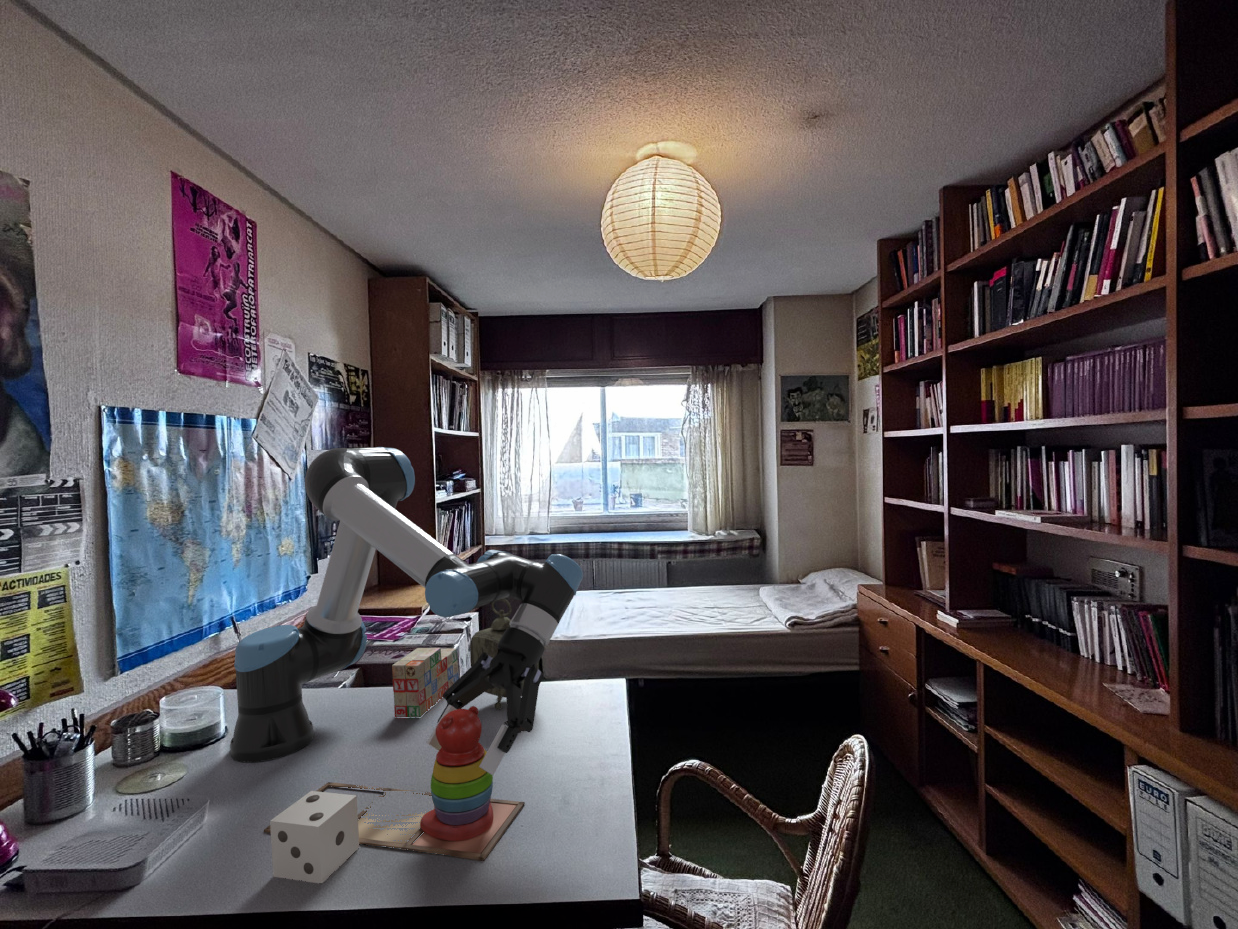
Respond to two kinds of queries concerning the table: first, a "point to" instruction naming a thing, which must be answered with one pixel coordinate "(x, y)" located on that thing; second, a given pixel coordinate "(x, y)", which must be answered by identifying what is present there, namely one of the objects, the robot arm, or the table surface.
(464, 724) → the stacking bear
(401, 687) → the stack of blocks
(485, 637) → the tabletop clock
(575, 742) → the table surface
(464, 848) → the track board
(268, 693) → the robot arm
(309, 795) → the die
